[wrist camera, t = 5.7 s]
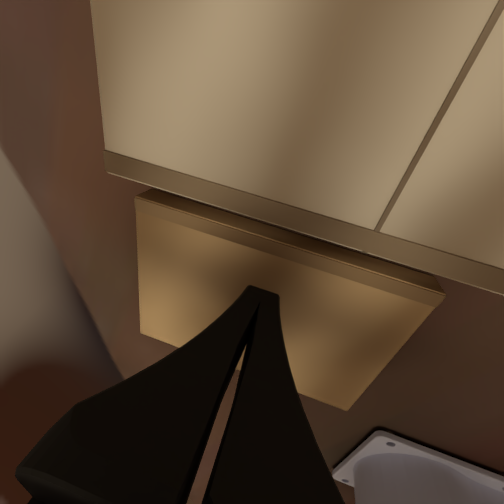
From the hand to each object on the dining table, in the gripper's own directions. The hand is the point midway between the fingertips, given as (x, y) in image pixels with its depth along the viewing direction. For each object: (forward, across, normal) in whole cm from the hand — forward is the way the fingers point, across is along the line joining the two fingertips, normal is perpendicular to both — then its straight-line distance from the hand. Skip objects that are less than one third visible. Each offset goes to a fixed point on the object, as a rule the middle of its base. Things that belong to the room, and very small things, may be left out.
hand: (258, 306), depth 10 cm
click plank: (+2, 0, +2) cm, 3 cm away
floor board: (+2, 0, -8) cm, 8 cm away
